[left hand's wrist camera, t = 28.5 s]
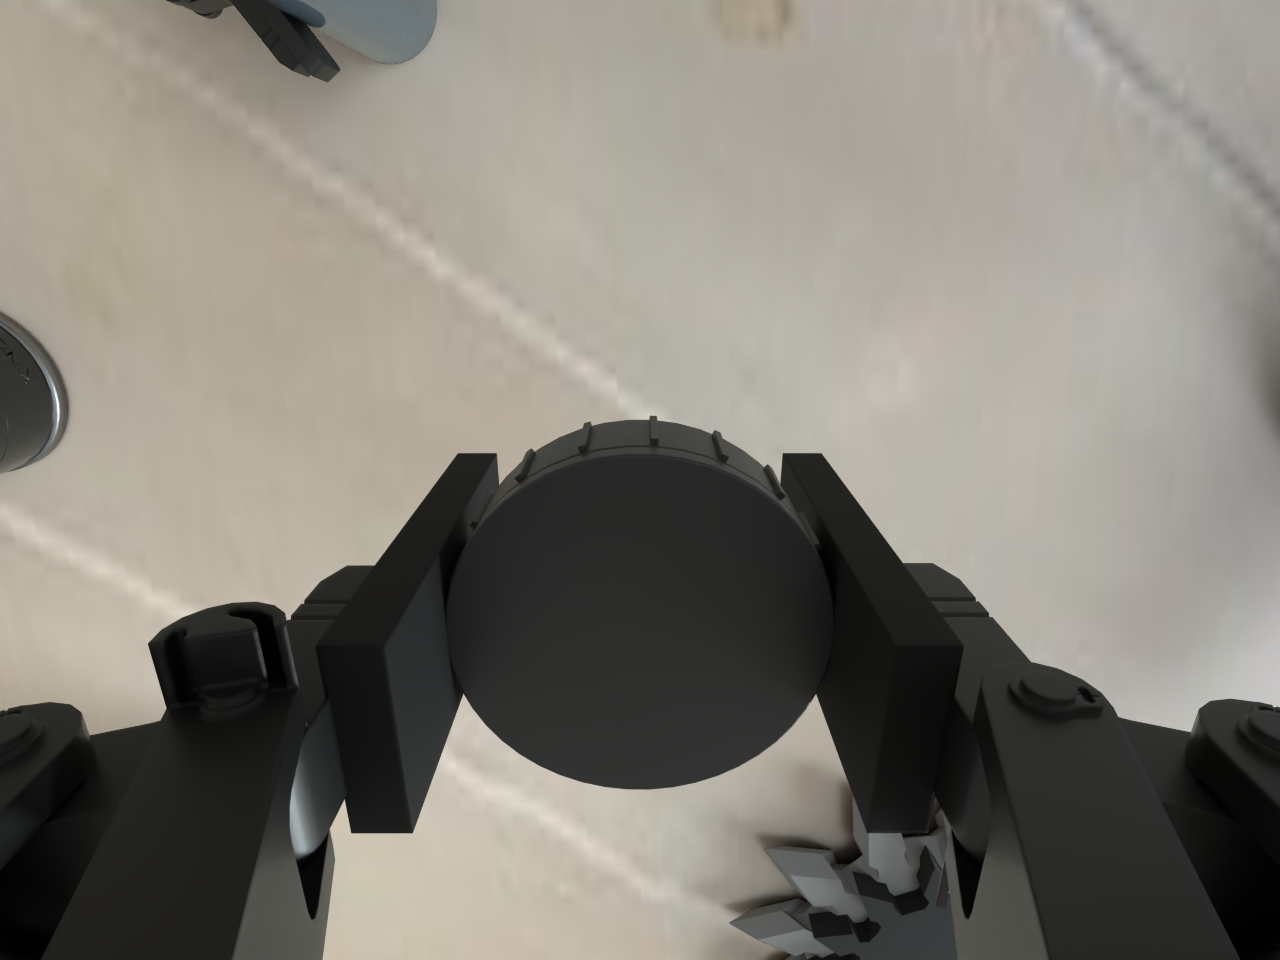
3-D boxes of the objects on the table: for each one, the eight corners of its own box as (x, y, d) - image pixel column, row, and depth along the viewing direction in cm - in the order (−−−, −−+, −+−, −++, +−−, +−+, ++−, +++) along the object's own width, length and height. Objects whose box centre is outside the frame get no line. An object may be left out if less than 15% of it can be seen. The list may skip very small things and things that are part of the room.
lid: (840, 426, 11) (874, 463, 9) (785, 731, 13) (805, 804, 11) (464, 400, 11) (434, 434, 9) (469, 713, 13) (445, 785, 11)
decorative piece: (919, 726, 42) (1263, 919, 48) (897, 685, 46) (1219, 869, 51) (647, 1012, 51) (962, 1146, 57) (646, 958, 55) (943, 1089, 60)
